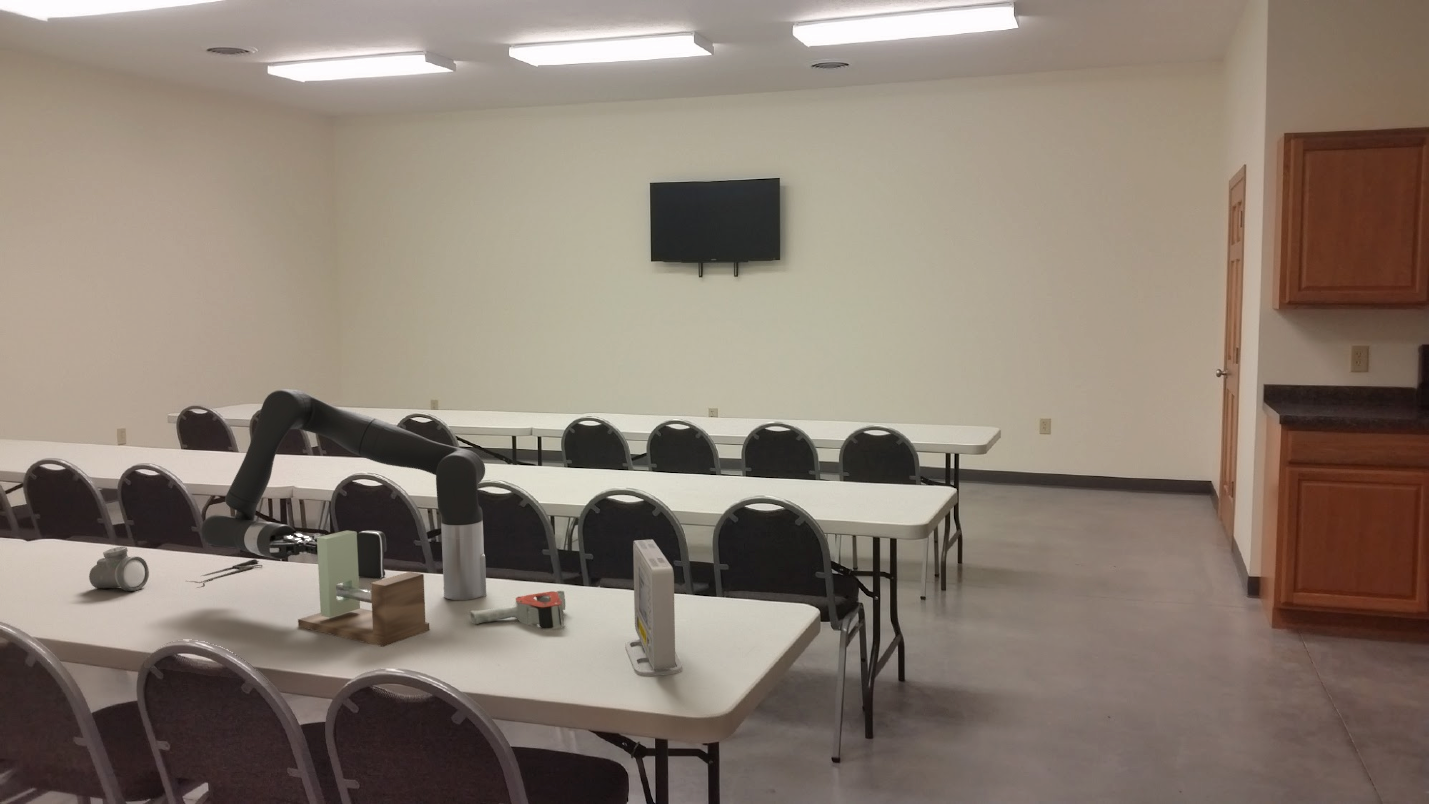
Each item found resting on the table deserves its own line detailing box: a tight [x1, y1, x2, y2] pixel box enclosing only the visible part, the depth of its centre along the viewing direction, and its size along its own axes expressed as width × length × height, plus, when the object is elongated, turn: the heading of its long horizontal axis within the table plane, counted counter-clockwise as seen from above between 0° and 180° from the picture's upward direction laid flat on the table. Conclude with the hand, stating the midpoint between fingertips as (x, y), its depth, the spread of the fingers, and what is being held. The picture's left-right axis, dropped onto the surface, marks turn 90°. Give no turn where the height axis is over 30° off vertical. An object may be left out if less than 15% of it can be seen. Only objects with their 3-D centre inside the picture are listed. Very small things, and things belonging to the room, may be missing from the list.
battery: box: [357, 530, 387, 579], centre depth 259 cm, size 7×4×11 cm, turn 72°
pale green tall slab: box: [317, 530, 361, 618], centre depth 221 cm, size 3×8×17 cm, turn 148°
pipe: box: [336, 584, 372, 604], centre depth 218 cm, size 22×3×3 cm, turn 58°
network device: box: [624, 539, 683, 677], centre depth 197 cm, size 26×9×20 cm, turn 12°
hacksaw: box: [186, 558, 263, 589], centre depth 263 cm, size 24×10×2 cm, turn 149°
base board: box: [297, 571, 430, 648], centre depth 218 cm, size 26×12×12 cm, turn 58°
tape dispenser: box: [469, 590, 566, 630], centre depth 223 cm, size 18×5×20 cm
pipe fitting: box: [88, 545, 150, 592], centre depth 251 cm, size 12×8×10 cm
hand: (322, 549), depth 223 cm, fingers closed
